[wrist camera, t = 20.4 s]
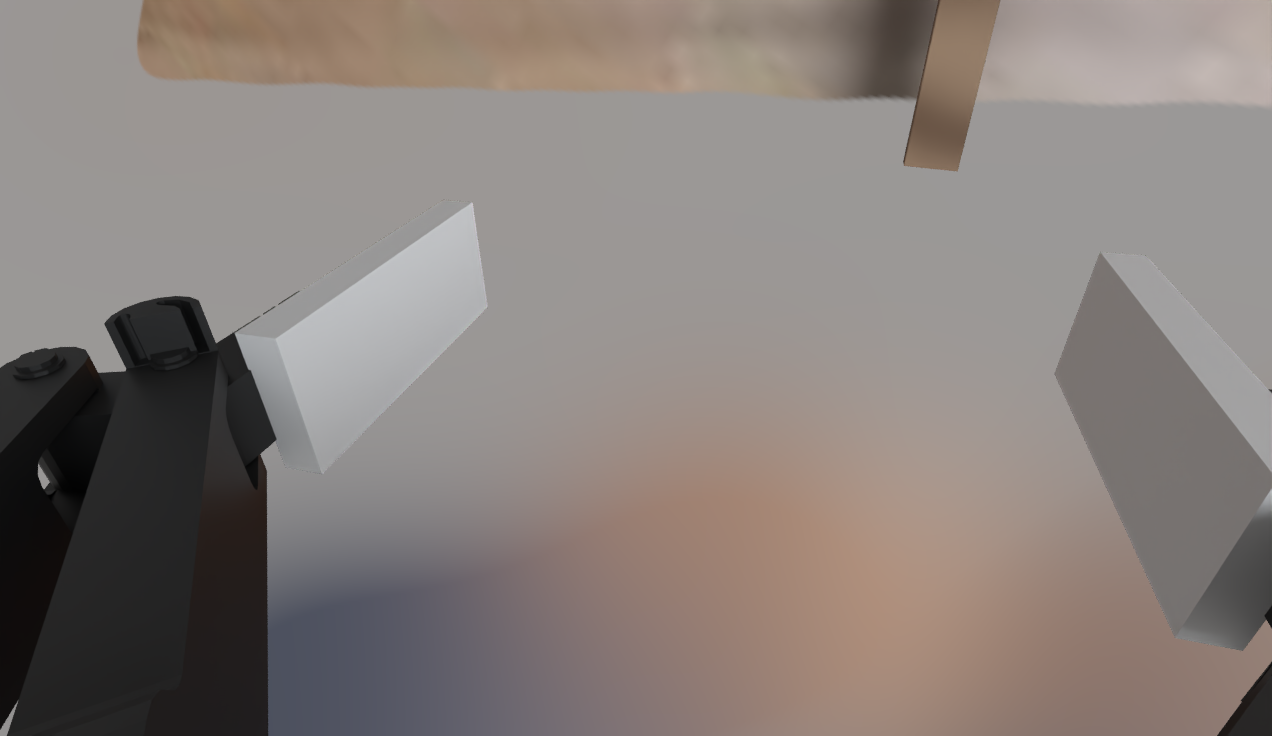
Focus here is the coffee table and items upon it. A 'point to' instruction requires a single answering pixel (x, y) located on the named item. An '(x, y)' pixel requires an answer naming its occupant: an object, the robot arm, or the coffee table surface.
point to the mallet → (950, 82)
